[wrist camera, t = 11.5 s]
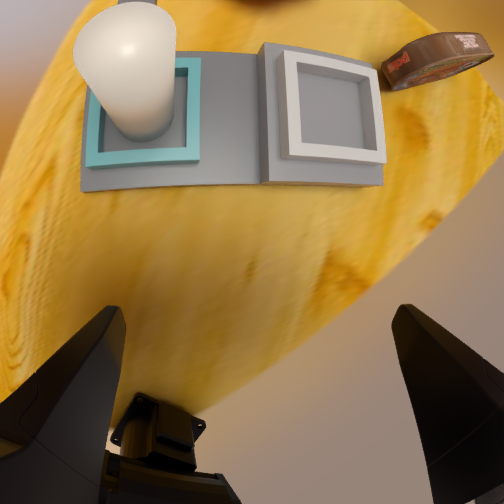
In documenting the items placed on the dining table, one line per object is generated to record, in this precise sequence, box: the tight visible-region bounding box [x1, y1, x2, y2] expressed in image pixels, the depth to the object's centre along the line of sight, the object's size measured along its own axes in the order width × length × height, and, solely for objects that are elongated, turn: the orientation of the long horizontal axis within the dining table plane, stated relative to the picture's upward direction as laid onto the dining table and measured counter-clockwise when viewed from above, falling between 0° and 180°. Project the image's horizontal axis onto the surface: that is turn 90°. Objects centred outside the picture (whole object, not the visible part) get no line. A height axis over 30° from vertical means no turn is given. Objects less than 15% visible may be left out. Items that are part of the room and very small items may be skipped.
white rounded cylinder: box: [73, 0, 176, 142], centre depth 13 cm, size 5×4×10 cm
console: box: [81, 42, 387, 193], centre depth 18 cm, size 21×10×4 cm, turn 91°
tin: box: [381, 32, 494, 91], centre depth 20 cm, size 15×3×8 cm, turn 116°
